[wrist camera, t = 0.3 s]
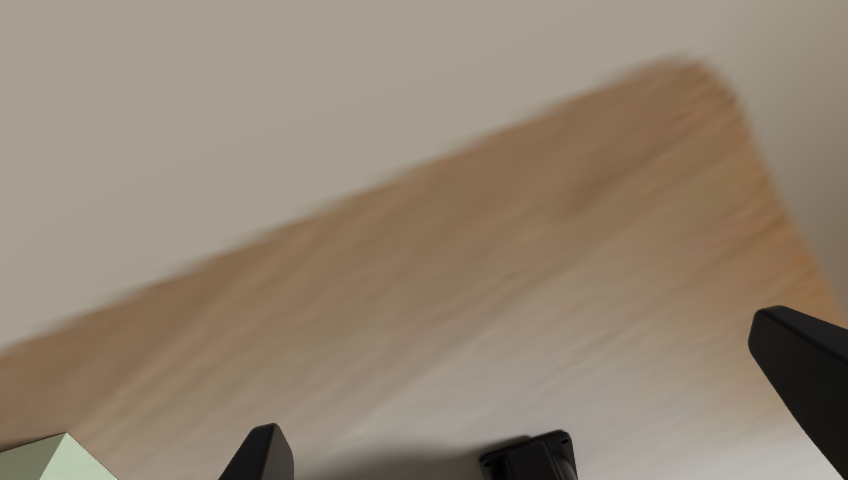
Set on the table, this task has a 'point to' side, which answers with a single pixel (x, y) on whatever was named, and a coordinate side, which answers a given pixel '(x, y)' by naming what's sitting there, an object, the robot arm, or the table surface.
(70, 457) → the hole block
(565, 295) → the table surface
